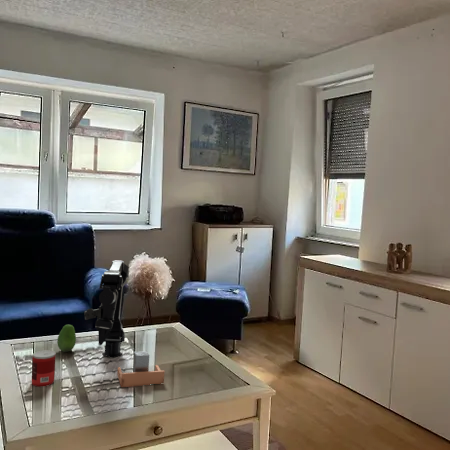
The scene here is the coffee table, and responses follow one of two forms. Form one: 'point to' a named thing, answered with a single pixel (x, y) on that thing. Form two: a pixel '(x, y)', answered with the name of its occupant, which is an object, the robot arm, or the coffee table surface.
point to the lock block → (141, 361)
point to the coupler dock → (140, 377)
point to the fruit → (67, 338)
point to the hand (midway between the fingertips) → (100, 343)
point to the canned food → (43, 368)
